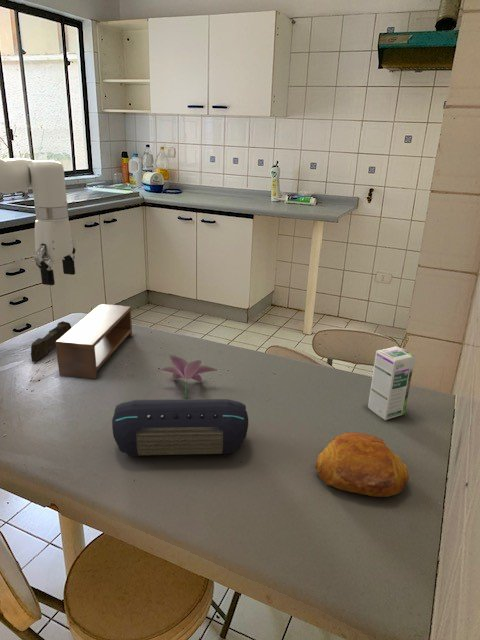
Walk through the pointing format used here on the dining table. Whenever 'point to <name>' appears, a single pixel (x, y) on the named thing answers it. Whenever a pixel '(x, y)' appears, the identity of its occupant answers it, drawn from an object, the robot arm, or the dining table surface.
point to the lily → (187, 369)
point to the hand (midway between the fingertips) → (59, 279)
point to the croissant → (362, 465)
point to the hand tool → (48, 341)
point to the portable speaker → (180, 426)
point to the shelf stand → (93, 340)
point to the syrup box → (391, 382)
